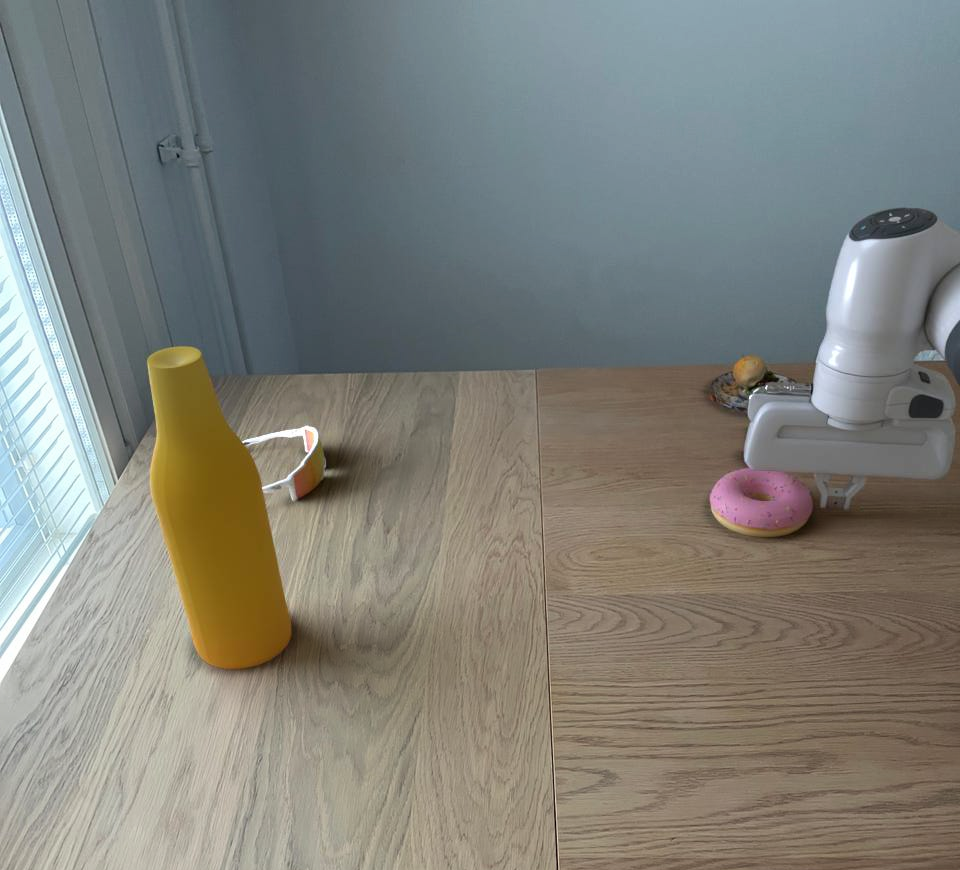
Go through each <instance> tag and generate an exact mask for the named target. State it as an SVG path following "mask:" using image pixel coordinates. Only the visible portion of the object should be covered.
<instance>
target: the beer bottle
mask: <svg viewBox="0 0 960 870" xmlns="http://www.w3.org/2000/svg"><path fill="white" fill-rule="evenodd" d="M146 364H147V370H148V378H149V384H150V385H149V386H150V391H151V399H152V404H153V411H154V417H155V425H156V438H155V439H156V440H155V445H154V448H153V452H152V457H151V462H150V467H149V468H150V469H149V486H150V488H149V489H150V495H151V499H152V504H153V507H154V510H155V512H156V517H157V519H158V522H159V526H160V529H161V533H162V536H163V539H164V543H165V546H166V549H167V550H166V551H167V553H168V557H169V560H170V563H171V567H172V571H173V574H174V576H175V581H176V584H177V588H178V592H179V595H180V598H181V601H182V605H183V608H184V612H185V615H186V619H187V623H188V625H189V630H190V635H191V639H192V642H193V646H194V648H195V650H196V652H197V655H199V657H200V658H201V659H202V661H203V662H205V663H207V664H208V665H210V666H213V667H215V668H219V669H224V670H240V669H241V670H242V669H249V668H253V667H257V666H260V665H262V664H264V663H266V662H269V661H271V660H272V659H274V658H275V657H277V656H278V655H280V654H281V653H282V652H283V651H284V649H285V648H286V647H288V644H289V643H290V640H291V637H292V620H291V616H290V612H289V609H288V604H287V600H286V596H285V592H284V587H283V586H284V585H283V582H282V577H281V572H280V571H281V570H280V566H279V562H278V557H277V552H276V548H275V543H274V538H273V533H272V529H271V524H270V519H269V514H268V510H267V509H268V508H267V504H266V499H265V495H264V494H265V493H263V489H262V487H263V483H262V479H261V475H260V472H259V469H258V467H257V465H256V462H255V459H254V458H253V456H252V453H251V452H250V451H249V449H248V448H247V446H245V445H244V444H243V441H242V440H241V438H240V437H239V436H238V434H236V432H235V431H234V429H232V427H231V426H230V425H229V423H228V422H227V420H226V418H225V416H224V413H223V410H222V408H221V406H220V402H219V400H218V396H217V393H216V391H215V388H214V385H213V382H212V379H211V376H210V373H209V371H208V368H207V365H206V361H205V359H204V357H203V354H202V352H201V350H200V349H199V348H196V347H194V346H184V345H181V346H180V345H179V346H172V347H167V348H163V349H160V350H157V351H155V352H153V353H152V354H151V355H149V356H148V357H147V359H146Z"/></svg>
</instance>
